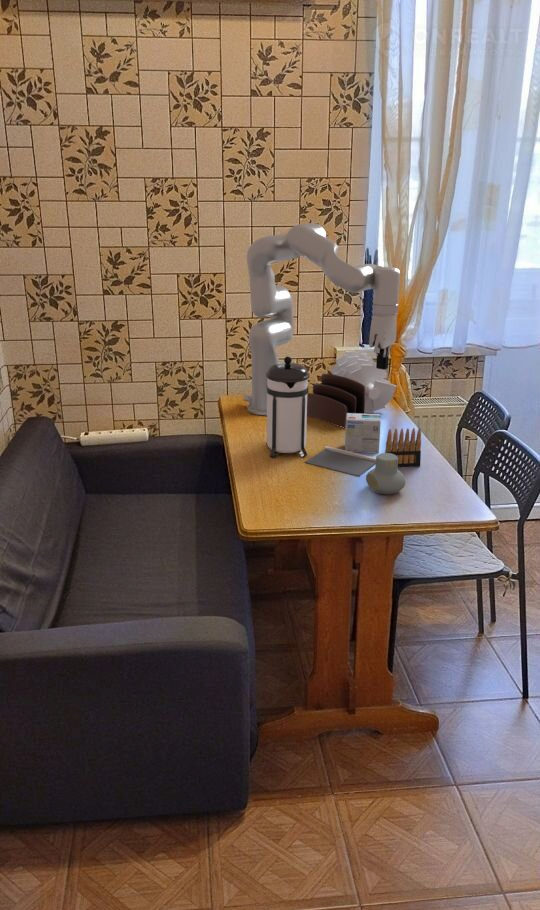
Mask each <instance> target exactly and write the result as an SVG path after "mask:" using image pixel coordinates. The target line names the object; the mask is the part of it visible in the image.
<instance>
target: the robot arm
mask: <svg viewBox="0 0 540 910" xmlns="http://www.w3.org/2000/svg"><path fill="white" fill-rule="evenodd" d="M246 253H247V254H246V265H247V271H248V275H249V277H248V279H249V293H250V307H251V312H252V313H253V315H254V316H255V317H257V318H261V319H263V318H268V317H269V319H266V320H262V321H260V322H258V323H257V322H256V323H255V324H254V325H253V326H252V327H251V328H250V330H249V332H248V341H249V347H250V354H251V356H250V357H251V394H249V393H245V394H244V396H243V398H242V399H243V401H245V402H248V405H247V407H246V408H247V412H249V413H250V414H253V415H257V416H267V392H266V386H267V377H266V372H267V371H268V369H269V368H270V367H271V366H272V365H274V364H277V363H280V358H279V355H278V352H277V350H276V348H277V347H280V346H282V345H285V344H288V342H290V341H291V340H292V338H293V336H294V332H295V331H294V328H295V327H294V308H293V307H294V306H293V305H294V304H293V299H292V298H293V297H292V295H291V293H290V291H289V290H288V289H287V288H286V287H285V286H283V285H276V277H275V272H274V269H273V268H272V266H271V264H274V263H279V262H284V261H285V262H286V261H290V260H294V259H297V258H299V257H303V258H305V259H306V260H308V261H310V262H311V263H313V264H314V265H316V266H318V267H319V268H321V270H322V272H323V274H324V275H325V276H326V279H328V280H329V281H330V282H331V283H333V284H334V285H335V286H338V287H339V288H340V289H343V290H344V291H347V292H350V293H353V294H354V293H355V294H357V293H360V292H361V293H362V292H363V291H369V290H372V289H373V297H372V298H373V300H372V318H371V321H370V322H371V323H370V329H369V339H368V346H369V348H373V353H375V354H376V363H377V364H376V368H377V369H383V370H385V369H386V370H387V369H389V357H390V351H391V348H392V346H393V345H394V344H395V343H396V341H397V325H398V323H397V321H398V320H397V316H398V314H399V301H400V300H399V298H400V282H401V271H400V269H399V268H397V267H392V266H381V265H377V264H373V263H365V264H360V265H356V266H353V265H352V264H351V265H350V264H349V263H347V262H346V261H345V260H342V259H341V258H340V257H339V256H338V253H339V247H338V245H337V243H336V242H334V241H332V240H331V239H329V238H327V234H326V231H325V229H324V227H323V226H322V225H320V224H319V223H315V222H307V223H300V224H295V225H294V226H292V227H291V228H290V229H289V230H288V231H287V232H286V233H281V234H275V235H267V236H263V237H260V238H258V239H256V240H255V241H253V242H252V243H251V244H250V246H249V247H248V250H247V252H246Z"/></svg>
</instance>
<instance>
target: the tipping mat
mask: <svg viewBox="0 0 540 910" xmlns="http://www.w3.org/2000/svg"><path fill="white" fill-rule="evenodd" d="M304 463H305V464H308V463H309V465H313V466H317V467H320V468H324V469H328V470H332V471H337V472H340V473H344V474H348V475H351V476H355V477H361V476H362V475H363V474H365V473H366V472H367V471H368V470H369V471H370V469H371V468H373V467H374V466H376V457H374V456H370V455H366V454H363V453H362V454H361V453H359V452H350V451H346V450H345V449H340V448H337V447H333V446H330V445H329V446H328V445H326V446H324V449H323V450H321V451H319V452H318V453H316V454H315V455H313V456H312V457H310V458H309V459H307V460H305V461H304Z"/></svg>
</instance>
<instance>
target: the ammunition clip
mask: <svg viewBox="0 0 540 910" xmlns="http://www.w3.org/2000/svg"><path fill="white" fill-rule="evenodd" d="M410 433H411V434H410ZM404 434H405V435H404ZM398 435H399V437H398ZM392 436H393V438H392ZM385 443H386V444H385V450H384V453H391V454H394V455H396V456H397V457H398V467H397V469H399V468H419V467H421V460H422V459H421V458H422V457H421V456H422V450H421V448H422V430H421V427H418V429H417V432H416V429H415V427H413V428H412V429H411V432H410V428H409V427H407V429H406V431H405V433H404V428H401V429H400V431H399V434H398V428H395V429H394V432H393V434H392V430H391V428H389V429H388V432H387V439H386V442H385Z"/></svg>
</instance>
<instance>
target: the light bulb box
mask: <svg viewBox="0 0 540 910" xmlns="http://www.w3.org/2000/svg"><path fill="white" fill-rule="evenodd" d="M380 439H381V414H380V413H364V414H356V413H347V415H346V429H345V436H344V440H345V441H344V450H346V451H354V453H365V452H370V453H369V454H380Z"/></svg>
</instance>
